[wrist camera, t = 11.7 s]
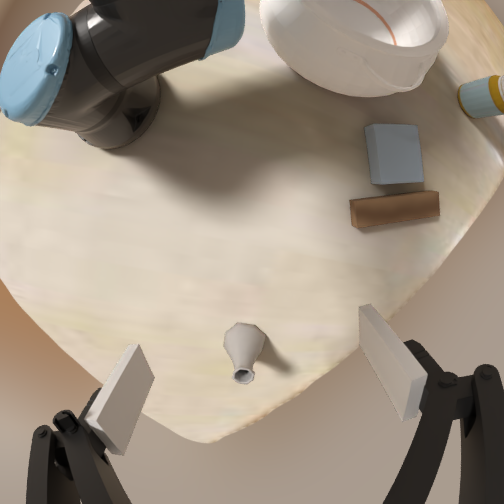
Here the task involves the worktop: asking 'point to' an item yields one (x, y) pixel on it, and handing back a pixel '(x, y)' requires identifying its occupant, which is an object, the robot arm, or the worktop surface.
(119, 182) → the worktop surface
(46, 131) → the worktop surface
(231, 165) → the worktop surface
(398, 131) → the slab
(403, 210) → the block
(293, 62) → the pot
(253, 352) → the flask
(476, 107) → the bottle
